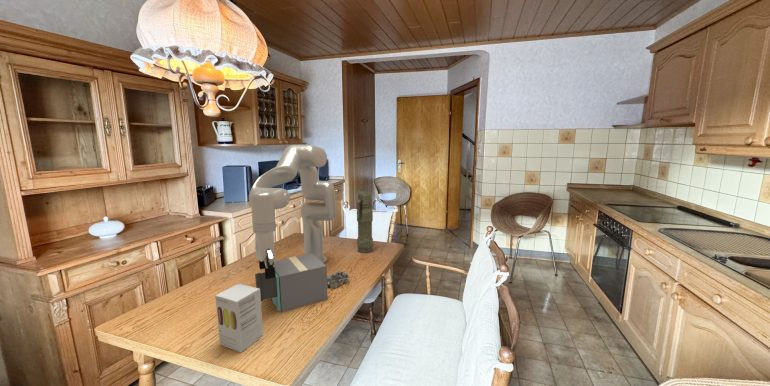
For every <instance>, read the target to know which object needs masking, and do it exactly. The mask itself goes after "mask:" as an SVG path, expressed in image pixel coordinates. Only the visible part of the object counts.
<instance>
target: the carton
mask: <svg viewBox="0 0 770 386" xmlns="http://www.w3.org/2000/svg"><path fill="white" fill-rule="evenodd" d="M273 261H274V266H275V272H276V274H277V275H278V276H279V289H280V305H281V311H280V312H281V313H284V312H286V311H290V310H293V309H297V308H301V307H304V306H308V305H311V304H315V303H319V302H323V301H325V300H328V286H327V276H328V274H327V273H328V272H327V265H326V264H325V263H323V262H321V261H320V260H319V259H318V258H317V257H316V256H315V255H314V254H313V253H312V254H307V255H305V254H303V255H297V256H295V255H294V256H291V257H288V258H282V259H277V260H273Z"/></svg>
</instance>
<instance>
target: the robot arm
mask: <svg viewBox="0 0 770 386" xmlns="http://www.w3.org/2000/svg"><path fill="white" fill-rule="evenodd" d="M327 161H328V155H327V152H326V150H325V149H324V148H322V147H319V146H316V145H311V144H290V145H288V146H286V148H285V149H284V150H283V153H282V154H281V157H280V158H279V159H278V162H277V163H276V166H275V167H273V168H271V169H269V170H268V171H266V172H265V173H263V174H261V175H260V176H258V178H256V179H255V181H254V183H253V185H252V187H251V189H250V191H249V193H248V194H249V195H248V203H249V204H250V207H251V208H250V209H251V220H252V221H251V222H252V232H253V233H254V236H255V237H254V239H255V241H254V245H255V256H256V258H257V260H258V266H259V270H264V272H265V278H266V279H270V278H274V277H275V266H274V261H275V258H276V252H275V251H276V250H275V249H276V248H275V236H274V232H276V230H277V225H276V210H279V209H284V208H286V207H287V206H288V205H289V203H290V201H291V196H290V192H289V191H288V190H287V189H285V188H281V187H277V186H279V185H282V184H286V183H288V182H291V181H293V180H294V179H296V177H297V175H298V173H299V174H300V175H299V176H300V185H301V194H302V197H303V198H304V199H305V200H307V201H305V202H303V203H302V205H301V207H300V215H301V219H302V224H303V225H302V226H303V227H302V229H303V244H304V245H303V246H304V247H303V248H304V255H307V254H312V253H313V254H314V255H315V256H316V257H317V258H318V259H319V260H320V261H321V262H323V263H324V264H325V263H326V262H327V261H328V260H327V259H328V258H327V257H326V256H325V254H324V234H323V233H324V232H323V231H324V229H323V226H322V224H321V222H320V221H322V222H323V221H325V222H332V221H333V220H335V219H336V215H337V206H336V191H335V190H336V189H335V186H334V184H333V183H332V182H331V181H327V180H320V178H319V170H318V168H322V167H324V166H325V165H326V164H327Z"/></svg>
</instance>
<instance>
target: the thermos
mask: <svg viewBox="0 0 770 386" xmlns="http://www.w3.org/2000/svg"><path fill="white" fill-rule="evenodd" d="M373 212H374V211H373V198H372V193H371V190H370V189H365V188H363V189H360V190H358V194H357V201H356V222H357V239H356V244H357V245H356V246H357V252H358V253H361V254H368V253H369V254H370V253H372V252H373V251H374V250H373V249H374V248H373V247H374V238H373V220H374V218H373V217H374V216H373Z"/></svg>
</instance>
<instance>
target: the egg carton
mask: <svg viewBox="0 0 770 386" xmlns="http://www.w3.org/2000/svg"><path fill="white" fill-rule="evenodd" d="M350 277H351V275H350V274H349V275H348V273H346V272H344V271H342V270H341V269H339V270H338V271H337V272H335V273H331V274H330V275H327V287H329V288H330V289H337V288H338V286H343V285H344V284H345V283H346V284H347V283H349V279H350Z"/></svg>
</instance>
